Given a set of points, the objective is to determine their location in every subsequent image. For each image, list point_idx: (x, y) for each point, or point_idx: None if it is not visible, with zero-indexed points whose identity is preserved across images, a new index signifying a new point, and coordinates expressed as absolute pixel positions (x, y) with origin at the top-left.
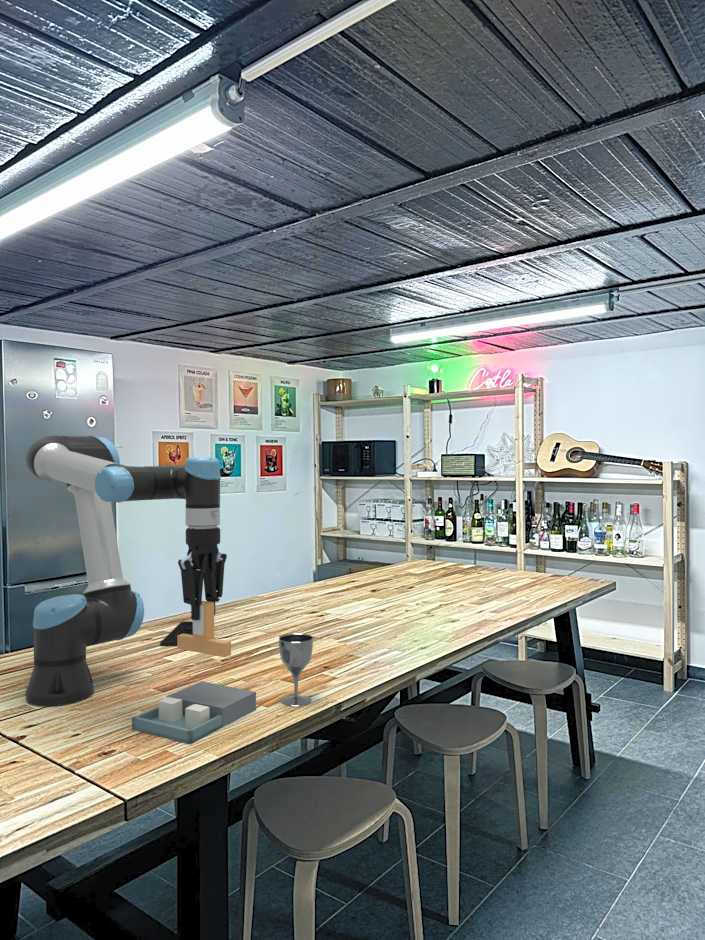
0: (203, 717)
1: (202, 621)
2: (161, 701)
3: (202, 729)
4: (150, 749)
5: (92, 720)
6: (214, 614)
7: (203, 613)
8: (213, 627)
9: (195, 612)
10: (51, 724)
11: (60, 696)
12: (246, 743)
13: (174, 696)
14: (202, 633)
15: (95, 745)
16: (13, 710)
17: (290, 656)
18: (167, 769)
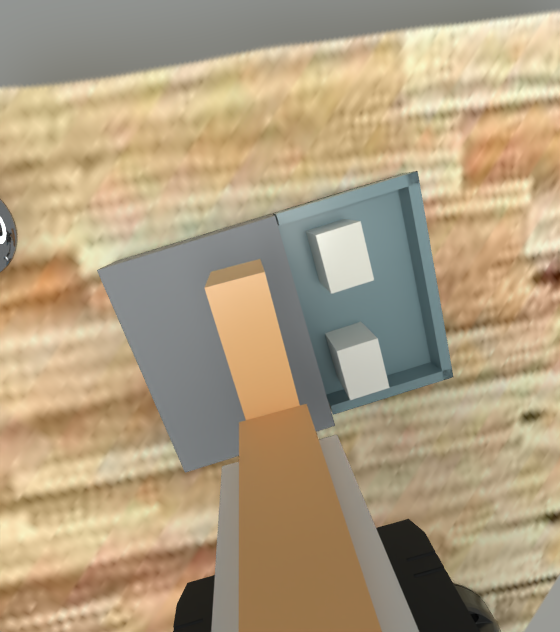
0: (338, 225)
1: (356, 501)
2: (386, 379)
3: (361, 187)
4: (483, 220)
5: (462, 470)
6: (190, 589)
7: (365, 560)
8: (247, 463)
9: (451, 584)
10: (526, 500)
11: (468, 604)
12: (293, 50)
13: (321, 407)
14: (334, 442)
15: (542, 334)
16: (527, 610)
17: None
18: (534, 72)
